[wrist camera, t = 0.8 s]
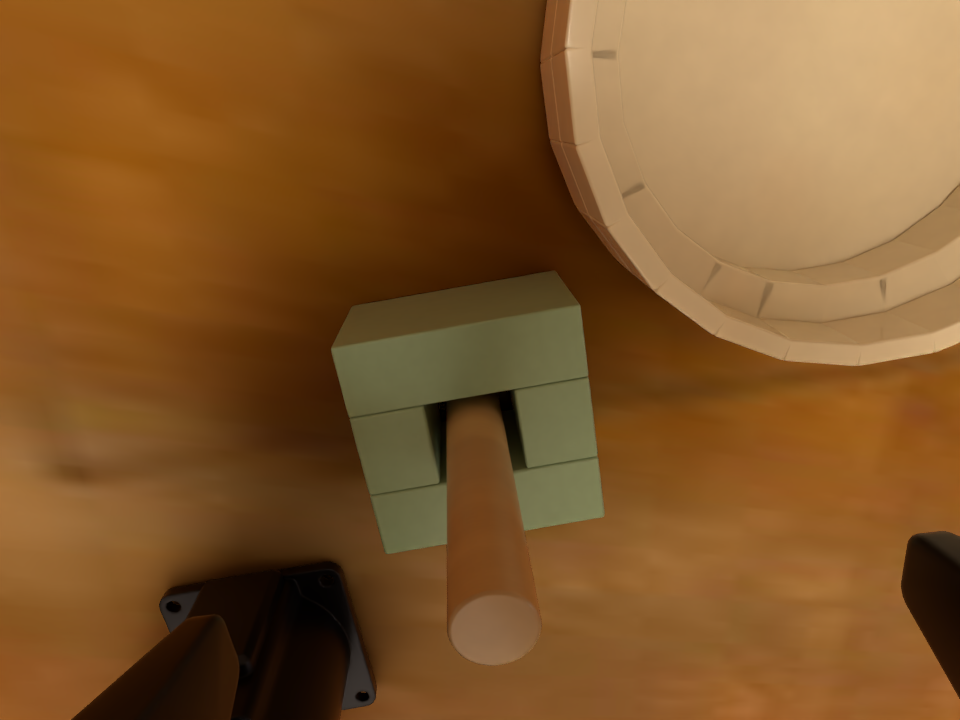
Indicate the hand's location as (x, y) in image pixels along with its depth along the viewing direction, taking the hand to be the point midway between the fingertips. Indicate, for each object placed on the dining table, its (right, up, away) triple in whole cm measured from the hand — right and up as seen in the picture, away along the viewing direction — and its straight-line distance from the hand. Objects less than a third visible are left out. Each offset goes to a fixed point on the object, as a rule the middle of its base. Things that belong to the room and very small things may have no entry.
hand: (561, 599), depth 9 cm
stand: (-1, +2, +13) cm, 13 cm away
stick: (-1, +2, +13) cm, 13 cm away
